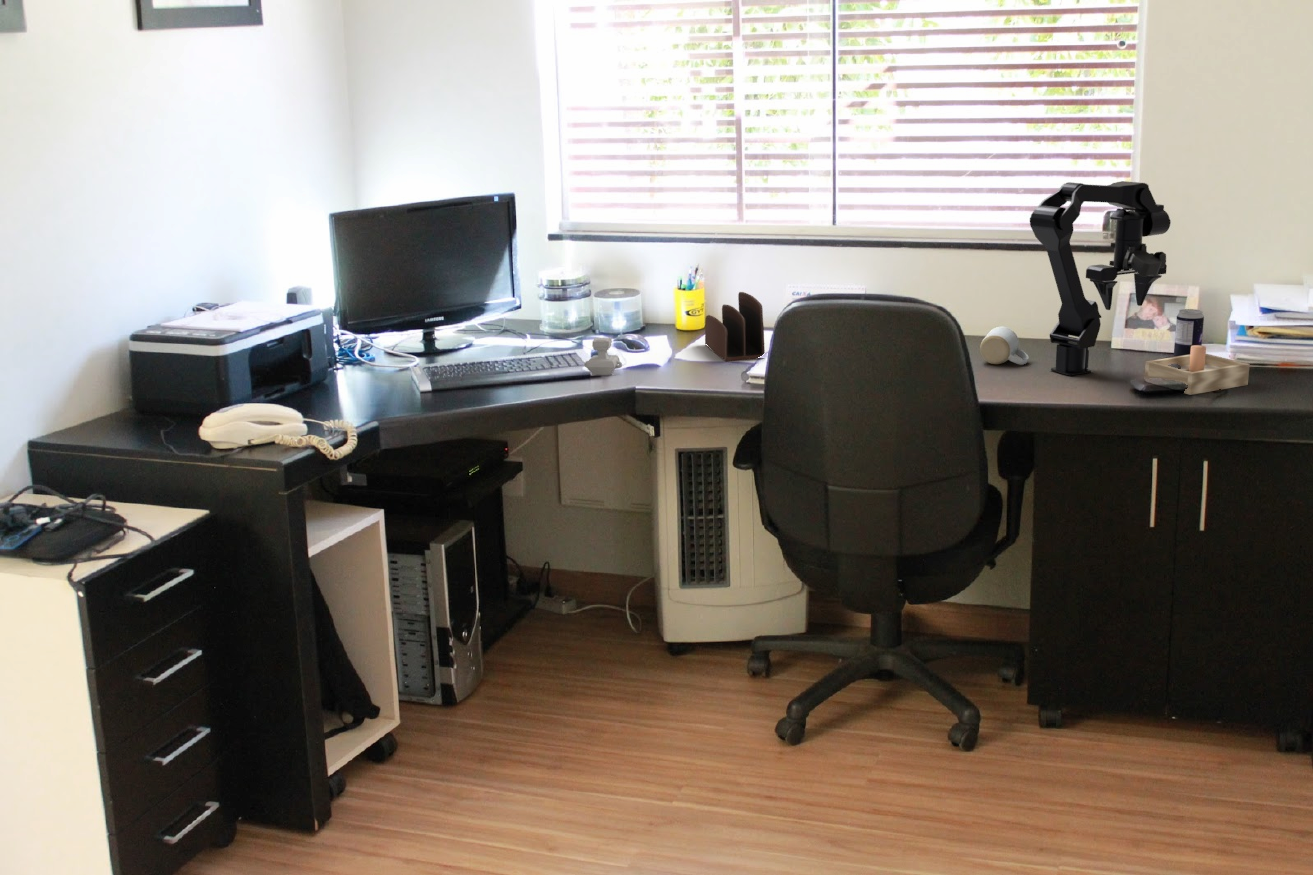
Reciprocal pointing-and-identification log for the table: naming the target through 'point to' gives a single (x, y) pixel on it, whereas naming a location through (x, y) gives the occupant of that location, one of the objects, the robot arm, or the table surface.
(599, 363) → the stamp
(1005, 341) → the ceramic mug
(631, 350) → the table surface
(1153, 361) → the tray
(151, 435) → the table surface
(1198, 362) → the peg
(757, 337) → the letter holder
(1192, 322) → the beverage can
